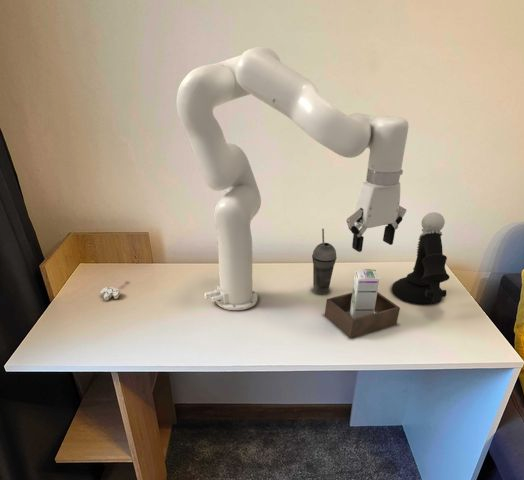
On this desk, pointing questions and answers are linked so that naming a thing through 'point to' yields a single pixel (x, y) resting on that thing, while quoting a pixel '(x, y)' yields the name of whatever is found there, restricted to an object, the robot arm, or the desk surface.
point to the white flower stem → (110, 293)
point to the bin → (361, 325)
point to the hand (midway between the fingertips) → (372, 246)
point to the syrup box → (364, 293)
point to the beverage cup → (323, 266)
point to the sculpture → (425, 266)
